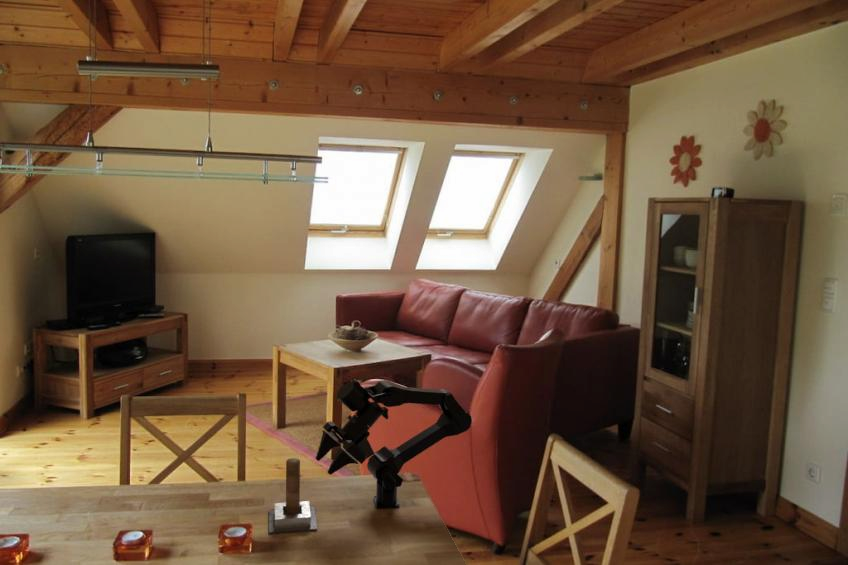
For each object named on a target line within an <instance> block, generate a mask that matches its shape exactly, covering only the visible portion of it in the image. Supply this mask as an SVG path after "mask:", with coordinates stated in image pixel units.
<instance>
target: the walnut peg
mask: <svg viewBox="0 0 848 565" xmlns="http://www.w3.org/2000/svg"><path fill="white" fill-rule="evenodd" d="M285 467H286V468H285V477H286V478H285V502H286V515H292V514H300V502H301V501H300V499H301V498H300V494H301V493H300V492H301V491H300V490H301V489H300V488H301V485H300V484H301V460H300V458H297V457H296V458H294V457H291V458H288V459H287V460H286V461H285Z"/></svg>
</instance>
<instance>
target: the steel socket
mask: <svg viewBox="0 0 848 565" xmlns="http://www.w3.org/2000/svg"><path fill="white" fill-rule="evenodd" d="M315 510H316V509H315V506H310V501H309V500H305V501H304V500H303V501H300V514H292V515H286V501H285V502H275V503H274V509H272V508H271V509H268V535H273V534H275V535H276V534H286V533H300V532H301V533H302V532H316V531H318V528H317V527H318V525H317V519H316V511H315Z"/></svg>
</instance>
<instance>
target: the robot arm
mask: <svg viewBox="0 0 848 565" xmlns="http://www.w3.org/2000/svg"><path fill="white" fill-rule="evenodd" d="M336 399H338V401H340V403H341V404H343V405H344V406H345V407H346V408H347V409H348V410H349V411H351V412H355V413H354V414H353V415H352V416H351V415H350V414H349V415H348V416H347V417H346V418H347V419H348V421H347V422H346V423H345V424H344V425H343V426H342V428H341V427H340V426H338V425H336V424H335V423H334V422H333V421H332V420H331V421H326V422H325V424H324V425H323V426H322V428H323V430H322V431H321V432H322V435H321V440H320V443H319V446H318V450H317V453H316V456H315V460H316V461H317V462H319V461H321V460H322V459H324V457H325V456H326V455H327V454H328V453H329V452H330V451H331V450H332V449H334V448H336V447H337V448H338V447H339V448H338V451H337V452H336V454H335V456H334V458H333V459H332V461H331V464H330V466H329V467H328V470H327V474H328V475H333V474H334V473H336V472H338V471H339V470H340V469H342V468H344V467H346V466H348V465H350V464H351V465H352V464H355V465H359V464H361V465H363V463H364V462H365V461H366V460H367V459H368V461H367V464H366V467H367V470H368V472H369V473H370V475H372V477H373V478H374V479H375V480H376V491H375V492H376V495H374V496H373V501H374V504H375V508H376V509H384V508H385V509H386V508H387V509H388V508H400V505H401V504H400V502H399V500H398V488H400V487H401V486H402V483H403V481H404V479H403V478H402V476H401V475H399V473H400V471H401V470H402V468H403V466H404V464H406V463H408V462H409V461H411V460H412V459H414V458H415V457H417V456H419V455H420V454H422V453H424V451H426V450H428V449H429V448H431V447H433V446H434V445H436V444H438V443H439V442H440V441H441V440H444V439H445V438H449V437H455V436H459V435H460V434H463V433H465V432H467V431H469V429H470V428H471V427H472V426H471V425H472V422H473V419H472V415H471V414H470V413H468V412H467V411H465V409H464V408H463V407H462V406H461V405H460V403H459V402H458V401H457V400H456V397H455V396H454V395H453V393H451V392H450V391H448V390H447V389H444V388H440V389H437V388H422V387H411V386H410V387H407V386H403V385H400V384H397V383H394V382H391V381H387V380H380V381H378V382H377V383H375V384H372V385H369V386H367V387H363V386H362V385H361V383H360V382H359V381H358V380H356V379H355V378H354V379H352V380H351V381H349V382H346V383H345V384H344V385H341V386H340V388H339V389H338V390H337V393H336ZM370 399H371V400H372V401H370ZM405 404H417V405H431V406H432V405H433V406H439V408H440V410H441V412H442V413H441V414H440V415H439V417H438V419H437V420H436V422H435V423H433V424H431V425H430V426H428V427H427V428H425V429H424V430H422V431H421V432H419V433H417V434H416V435H414V436H412V438H409V440H407V441H405V442H403V443H402V444H400V445H399V446H397V447H395V448H393V449H391V448H390V449H389V448H388V447H387V446H386V445H385V446H383V447H381V448H379V449H378V450H377V451H375V452H374V450H373V447H372V446H371V444H370V441H369V439H368V438H369V437H370V434H371V433H370V432H369V430H370V429H371V428H372V427H373V426H374V425H375V423H376V422H377V421H378V420H379V419H380V417H383V418H384V419H385V420H388V419H389V409H388V408H392V407H393V408H394V407H398V406H399V407H400V406H402V405H405ZM381 405H383V406H381ZM341 444H342V447H340V446H341Z"/></svg>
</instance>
